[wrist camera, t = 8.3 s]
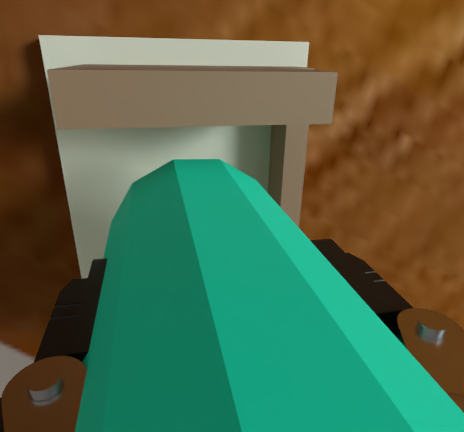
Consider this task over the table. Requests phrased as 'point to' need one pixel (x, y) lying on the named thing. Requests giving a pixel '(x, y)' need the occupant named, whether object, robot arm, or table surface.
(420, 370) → the candle
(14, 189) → the table surface
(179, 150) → the holder
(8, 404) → the robot arm
